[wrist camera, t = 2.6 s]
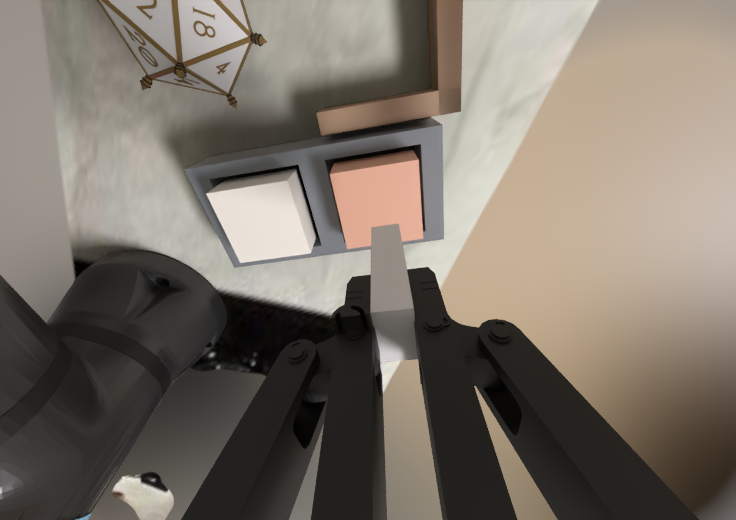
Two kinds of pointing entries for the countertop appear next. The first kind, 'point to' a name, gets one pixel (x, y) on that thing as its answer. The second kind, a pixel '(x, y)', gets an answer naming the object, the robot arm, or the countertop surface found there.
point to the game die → (186, 40)
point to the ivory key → (264, 215)
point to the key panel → (316, 178)
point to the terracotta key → (378, 196)
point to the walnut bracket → (419, 104)
